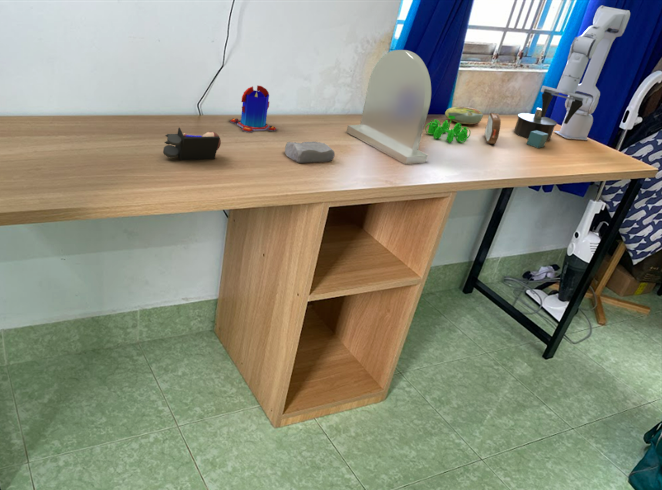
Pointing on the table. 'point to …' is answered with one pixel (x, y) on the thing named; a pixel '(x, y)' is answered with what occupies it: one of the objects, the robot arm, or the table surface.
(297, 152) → the stone block
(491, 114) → the tin
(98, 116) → the table surface
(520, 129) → the black round container
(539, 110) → the lid
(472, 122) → the cell model
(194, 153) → the character figurine
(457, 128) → the green bumpy cluster
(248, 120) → the fantasy tower
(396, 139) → the award
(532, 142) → the block
